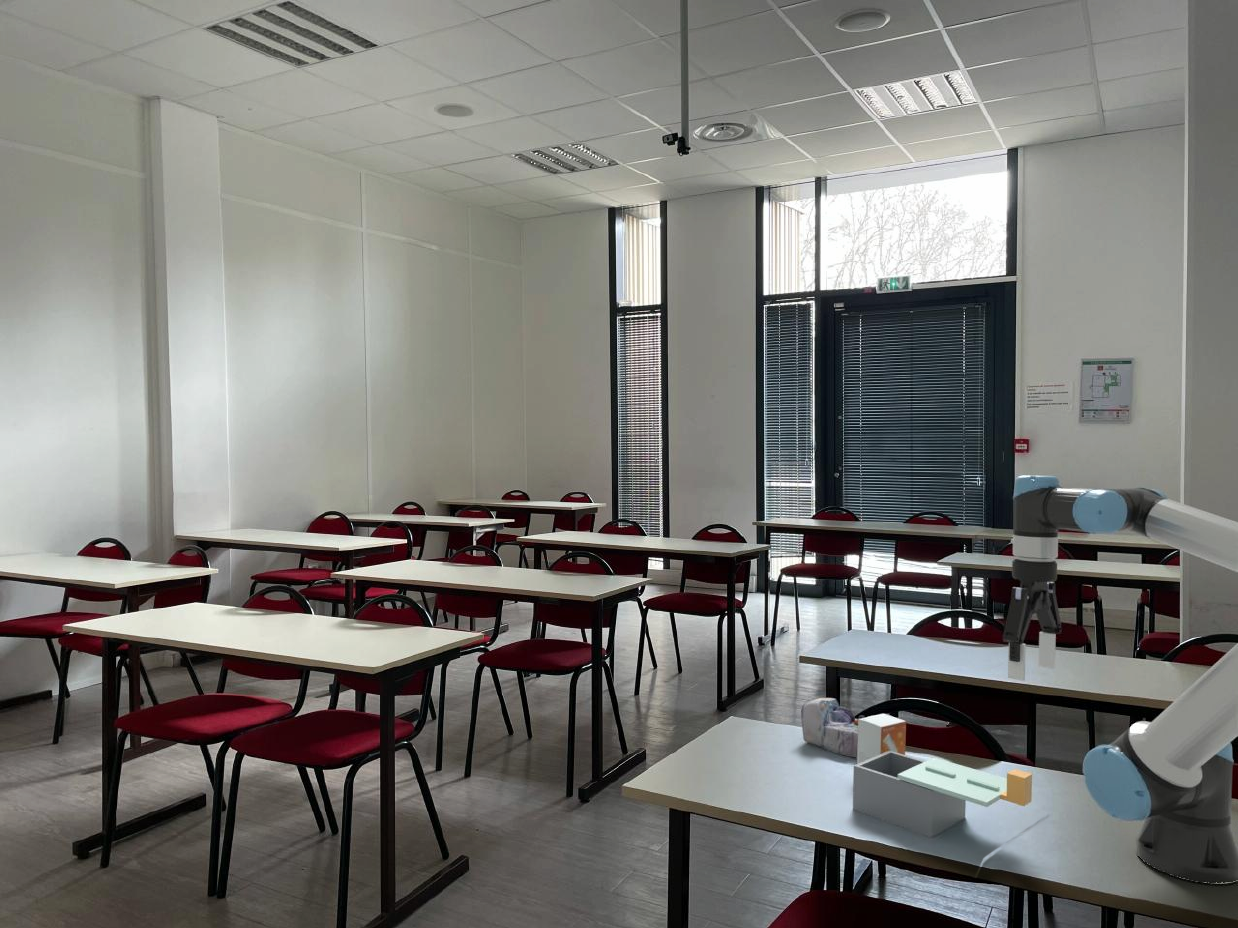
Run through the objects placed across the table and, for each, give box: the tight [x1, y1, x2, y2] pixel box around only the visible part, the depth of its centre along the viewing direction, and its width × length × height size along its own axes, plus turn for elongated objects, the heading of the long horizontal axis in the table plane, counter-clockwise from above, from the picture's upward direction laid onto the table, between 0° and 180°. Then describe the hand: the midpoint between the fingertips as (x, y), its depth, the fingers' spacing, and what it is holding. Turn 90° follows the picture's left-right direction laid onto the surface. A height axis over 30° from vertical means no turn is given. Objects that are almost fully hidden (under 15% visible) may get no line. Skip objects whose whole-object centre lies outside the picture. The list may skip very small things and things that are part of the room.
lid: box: [898, 757, 1033, 808], centre depth 155 cm, size 21×14×5 cm, turn 42°
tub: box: [852, 751, 966, 839], centre depth 164 cm, size 16×13×9 cm
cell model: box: [800, 697, 875, 759], centre depth 202 cm, size 13×11×20 cm
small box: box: [856, 713, 907, 764], centre depth 182 cm, size 8×6×13 cm
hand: (1031, 673), depth 160 cm, fingers open, 13 cm apart
